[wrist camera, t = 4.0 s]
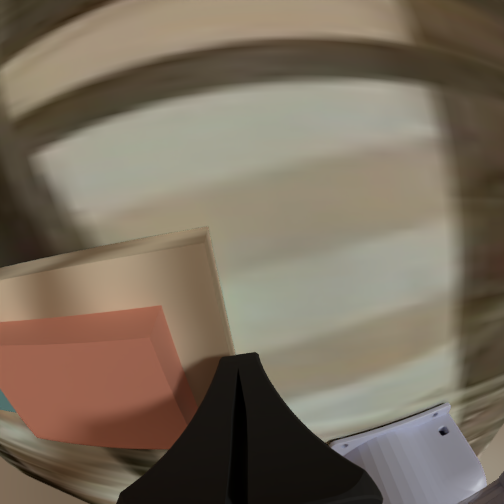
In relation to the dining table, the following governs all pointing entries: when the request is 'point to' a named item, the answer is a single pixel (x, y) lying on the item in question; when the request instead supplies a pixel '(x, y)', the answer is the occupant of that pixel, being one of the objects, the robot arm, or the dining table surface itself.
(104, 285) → the block
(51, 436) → the pink rubber eraser
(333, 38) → the dining table surface
